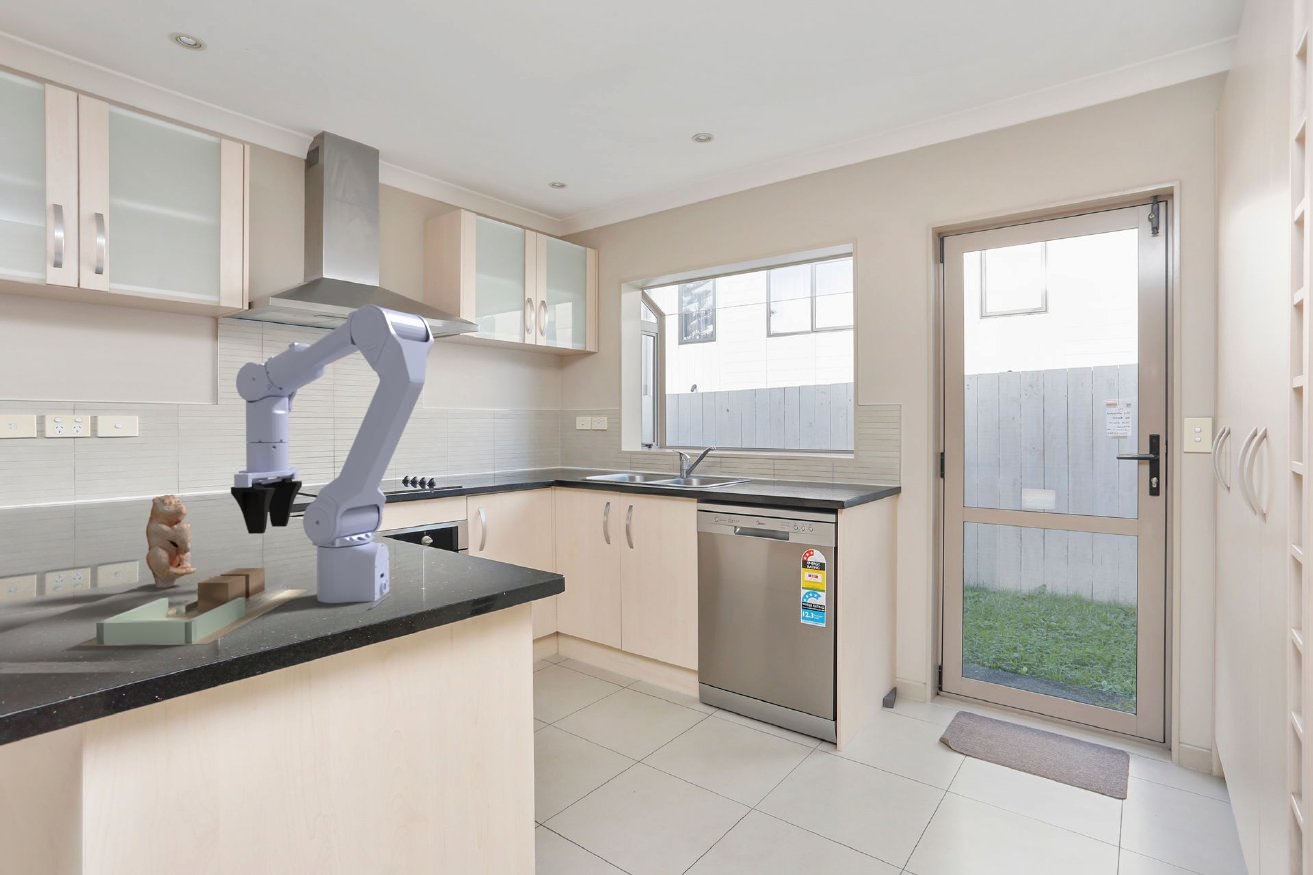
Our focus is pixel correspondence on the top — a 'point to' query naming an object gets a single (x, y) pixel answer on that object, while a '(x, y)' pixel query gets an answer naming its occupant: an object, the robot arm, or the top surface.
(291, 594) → the slot board
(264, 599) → the slot rails
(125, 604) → the top surface
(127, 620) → the tray
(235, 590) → the chip
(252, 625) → the top surface
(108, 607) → the top surface
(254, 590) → the brown wooden block
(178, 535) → the figurine
